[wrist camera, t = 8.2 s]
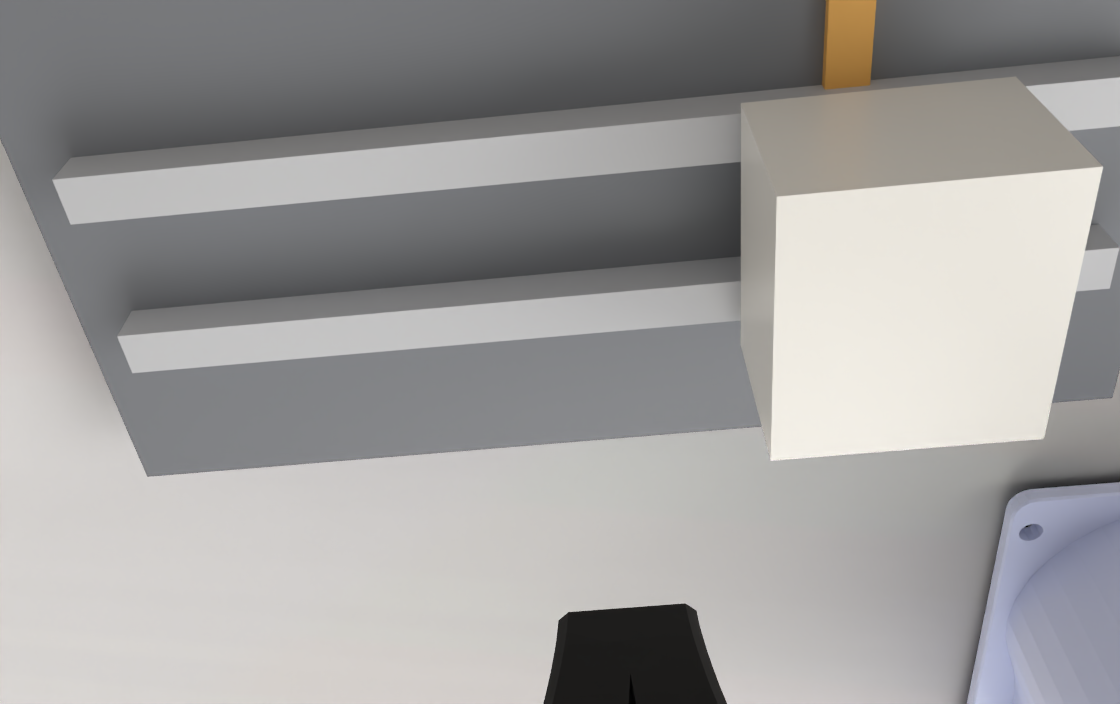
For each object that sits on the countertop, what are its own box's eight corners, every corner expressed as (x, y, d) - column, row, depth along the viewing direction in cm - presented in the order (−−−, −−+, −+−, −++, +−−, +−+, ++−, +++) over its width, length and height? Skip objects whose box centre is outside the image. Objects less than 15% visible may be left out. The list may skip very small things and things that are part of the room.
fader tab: (961, 299, 19) (1043, 438, 16) (734, 318, 19) (770, 460, 16) (997, 56, 16) (1102, 166, 13) (733, 83, 16) (776, 196, 13)
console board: (1080, 352, 22) (1131, 424, 20) (169, 428, 23) (135, 504, 21) (1205, -191, 16) (1293, -161, 14) (-28, -58, 17) (-101, -14, 15)
